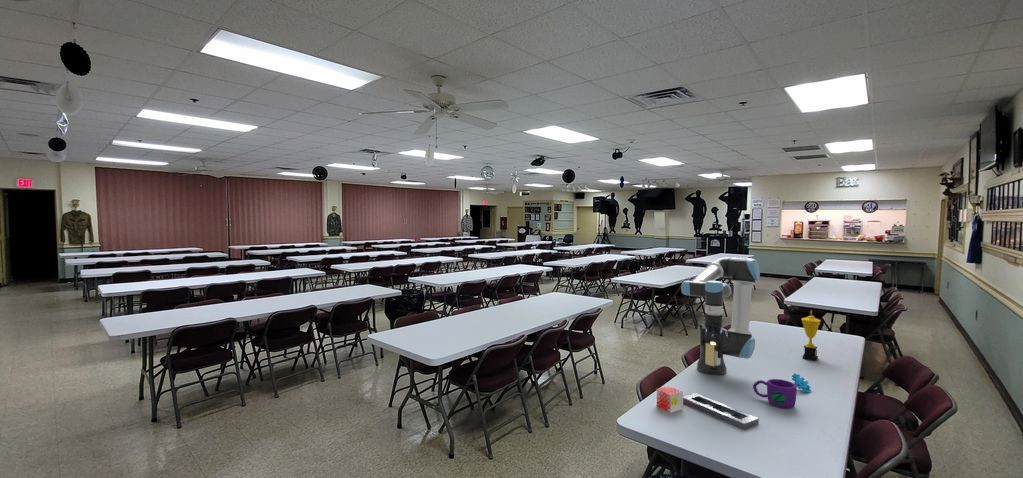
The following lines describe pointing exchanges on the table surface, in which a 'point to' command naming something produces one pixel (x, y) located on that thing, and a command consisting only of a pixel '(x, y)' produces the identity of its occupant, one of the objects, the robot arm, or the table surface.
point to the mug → (779, 392)
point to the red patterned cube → (670, 399)
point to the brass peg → (710, 353)
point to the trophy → (810, 336)
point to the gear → (801, 383)
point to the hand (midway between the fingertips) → (712, 362)
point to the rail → (728, 415)
